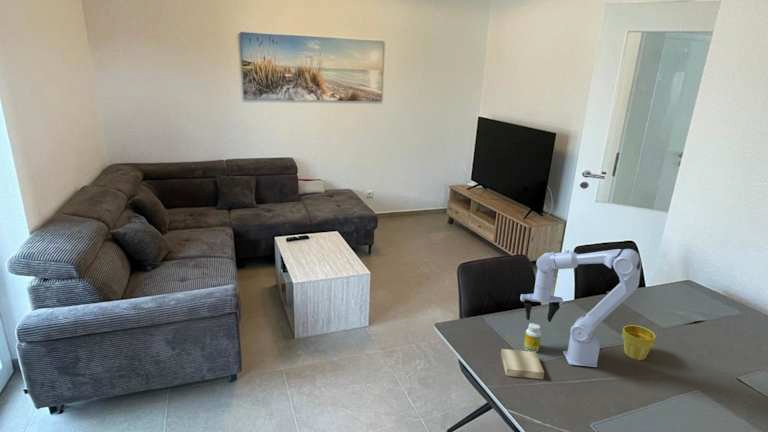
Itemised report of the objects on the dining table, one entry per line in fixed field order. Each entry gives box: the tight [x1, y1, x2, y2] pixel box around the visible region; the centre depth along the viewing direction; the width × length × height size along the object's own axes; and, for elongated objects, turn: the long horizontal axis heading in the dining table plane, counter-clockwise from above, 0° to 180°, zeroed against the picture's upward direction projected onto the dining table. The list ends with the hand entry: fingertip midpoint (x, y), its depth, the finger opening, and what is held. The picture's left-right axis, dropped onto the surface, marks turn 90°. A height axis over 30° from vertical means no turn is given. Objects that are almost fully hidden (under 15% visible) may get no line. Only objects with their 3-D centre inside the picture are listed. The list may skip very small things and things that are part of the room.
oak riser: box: [500, 348, 545, 380], centre depth 152 cm, size 12×12×3 cm
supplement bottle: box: [523, 322, 542, 353], centre depth 162 cm, size 5×5×10 cm
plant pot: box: [621, 324, 657, 361], centre depth 160 cm, size 10×10×10 cm
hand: (538, 319), depth 163 cm, fingers open, 7 cm apart
